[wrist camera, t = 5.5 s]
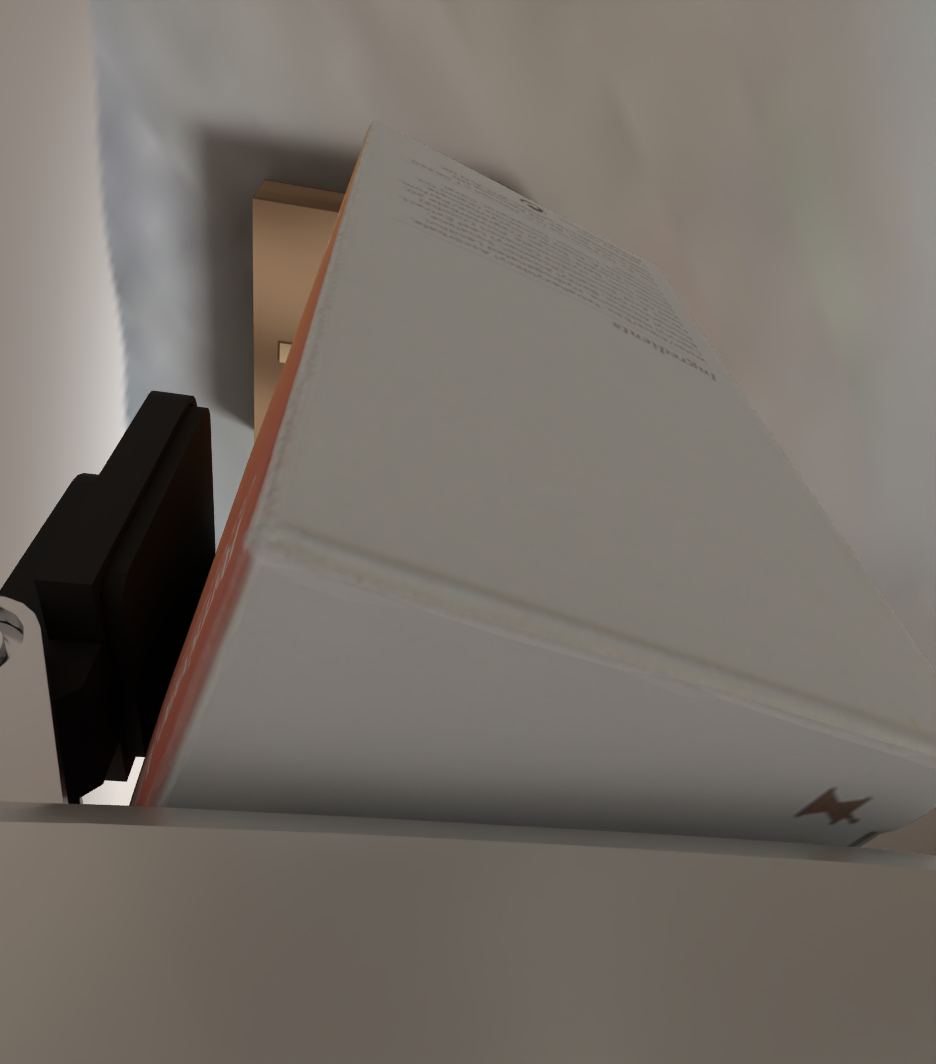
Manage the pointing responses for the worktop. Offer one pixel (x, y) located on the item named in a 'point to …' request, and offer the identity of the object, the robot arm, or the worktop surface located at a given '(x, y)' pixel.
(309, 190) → the brown cardboard box
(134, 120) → the worktop surface
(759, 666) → the small box
